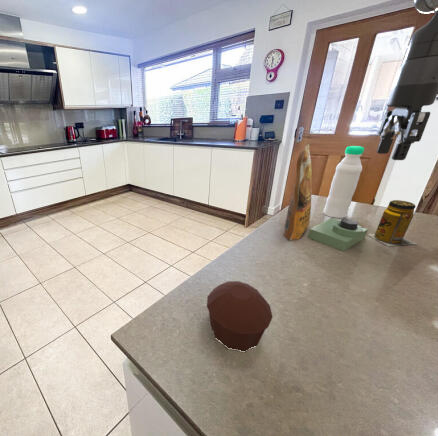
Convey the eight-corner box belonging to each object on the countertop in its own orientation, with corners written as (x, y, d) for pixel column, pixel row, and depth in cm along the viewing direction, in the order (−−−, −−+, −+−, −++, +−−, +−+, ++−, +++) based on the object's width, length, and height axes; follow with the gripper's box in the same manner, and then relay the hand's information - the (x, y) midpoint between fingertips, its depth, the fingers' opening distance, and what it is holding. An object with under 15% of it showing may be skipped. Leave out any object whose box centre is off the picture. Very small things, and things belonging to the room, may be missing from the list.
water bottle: (351, 218, 85) (375, 147, 74) (331, 219, 85) (353, 148, 75) (337, 210, 91) (358, 144, 81) (318, 211, 92) (337, 145, 81)
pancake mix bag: (273, 238, 76) (290, 150, 64) (290, 218, 88) (308, 140, 76) (296, 245, 71) (320, 151, 59) (311, 223, 83) (333, 141, 72)
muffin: (271, 366, 39) (282, 324, 35) (203, 352, 42) (206, 312, 38) (260, 312, 49) (268, 274, 45) (207, 304, 52) (209, 267, 48)
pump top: (343, 223, 73) (345, 217, 72) (358, 228, 70) (361, 221, 69) (336, 226, 71) (338, 220, 70) (352, 231, 68) (354, 225, 67)
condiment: (366, 234, 75) (379, 199, 70) (393, 233, 74) (409, 197, 69) (387, 246, 68) (404, 208, 63) (417, 245, 68) (436, 207, 63)
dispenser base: (328, 226, 81) (332, 213, 79) (366, 238, 72) (372, 224, 70) (307, 237, 75) (311, 223, 73) (345, 252, 67) (351, 237, 65)
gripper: (464, 78, 45) (426, 163, 52) (421, 82, 56) (395, 151, 63) (411, 82, 47) (382, 162, 54) (381, 86, 59) (360, 151, 66)
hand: (389, 156), depth 59 cm, fingers open, 8 cm apart
